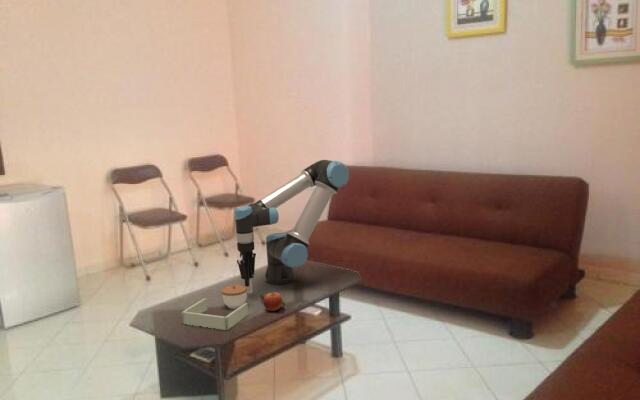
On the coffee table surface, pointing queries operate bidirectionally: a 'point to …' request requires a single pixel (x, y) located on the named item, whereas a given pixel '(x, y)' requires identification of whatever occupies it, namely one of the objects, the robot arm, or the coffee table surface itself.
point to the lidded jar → (234, 295)
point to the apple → (272, 301)
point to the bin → (212, 316)
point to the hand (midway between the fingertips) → (249, 292)
